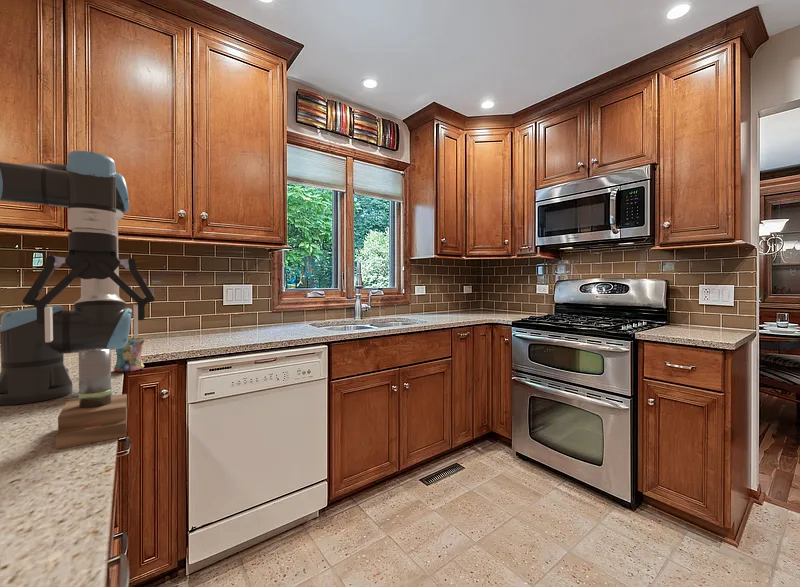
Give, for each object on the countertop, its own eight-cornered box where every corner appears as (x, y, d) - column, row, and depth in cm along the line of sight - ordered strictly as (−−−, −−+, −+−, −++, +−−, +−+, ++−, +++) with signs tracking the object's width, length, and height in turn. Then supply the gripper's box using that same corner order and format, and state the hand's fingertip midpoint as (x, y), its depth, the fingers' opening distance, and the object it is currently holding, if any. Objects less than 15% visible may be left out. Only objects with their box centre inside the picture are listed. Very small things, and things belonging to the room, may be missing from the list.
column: (80, 403, 76) (79, 349, 76) (112, 398, 79) (111, 347, 79) (77, 410, 72) (76, 353, 72) (111, 405, 75) (110, 350, 75)
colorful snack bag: (111, 369, 129) (110, 339, 129) (143, 366, 135) (143, 336, 135) (113, 376, 120) (113, 343, 119) (148, 372, 126) (148, 340, 125)
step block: (67, 425, 77) (66, 401, 77) (127, 416, 83) (126, 393, 83) (56, 449, 66) (55, 421, 66) (126, 436, 72) (125, 410, 72)
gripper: (-2, 224, 65) (1, 347, 66) (167, 236, 79) (168, 336, 80) (9, 229, 71) (12, 340, 72) (165, 238, 85) (166, 331, 86)
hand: (94, 338), depth 76 cm, fingers open, 13 cm apart
